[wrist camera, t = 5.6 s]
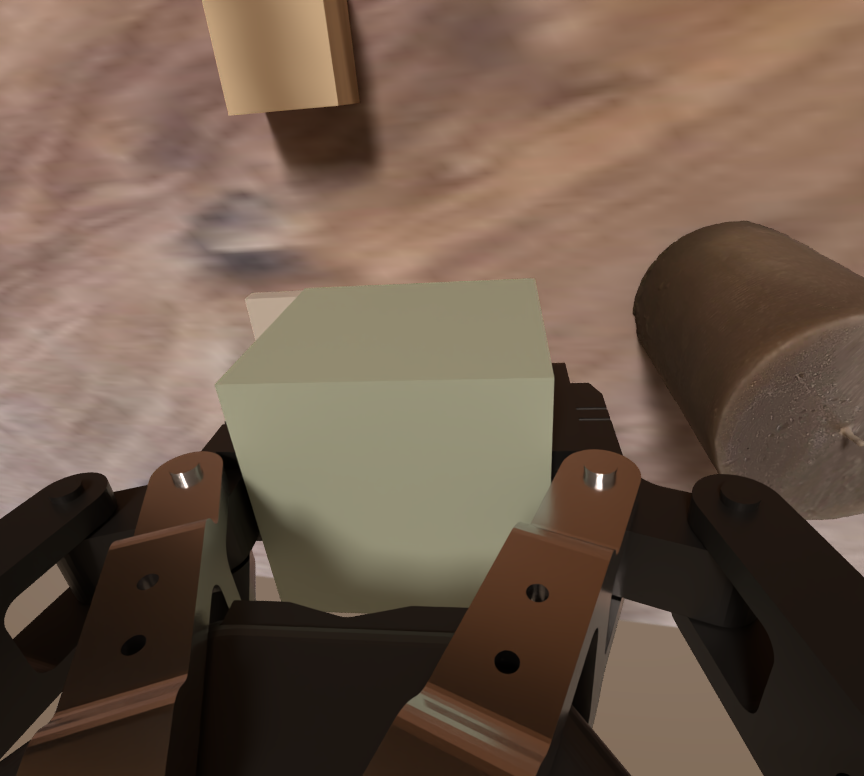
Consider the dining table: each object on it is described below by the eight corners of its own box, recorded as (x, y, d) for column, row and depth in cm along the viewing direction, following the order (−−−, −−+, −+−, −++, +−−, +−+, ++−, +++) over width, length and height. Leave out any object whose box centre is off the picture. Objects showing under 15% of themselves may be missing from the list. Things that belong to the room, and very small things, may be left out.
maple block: (344, -20, 27) (317, -40, 23) (360, 102, 29) (338, 105, 25) (241, -8, 28) (196, -25, 23) (265, 111, 30) (228, 115, 26)
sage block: (534, 278, 12) (554, 377, 8) (532, 469, 15) (546, 620, 11) (305, 287, 13) (214, 384, 9) (340, 469, 16) (284, 610, 11)
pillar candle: (599, 305, 33) (668, 451, 21) (741, 180, 29) (940, 264, 16) (698, 399, 36) (814, 581, 23) (841, 297, 32) (1081, 448, 19)
